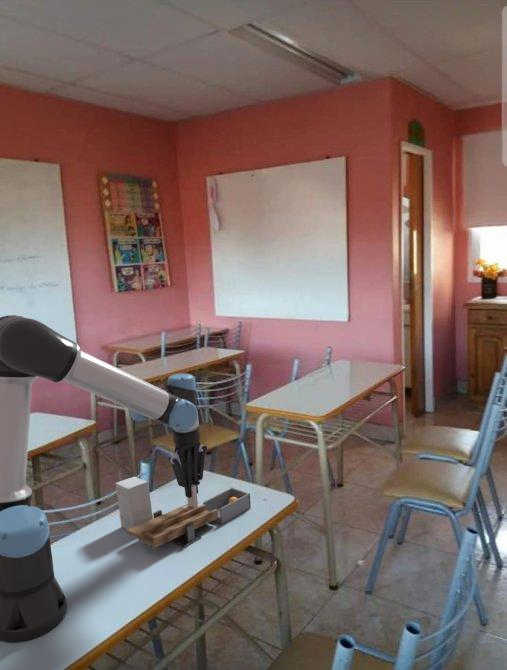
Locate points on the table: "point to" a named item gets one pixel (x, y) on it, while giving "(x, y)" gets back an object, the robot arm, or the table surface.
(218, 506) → the tray
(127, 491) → the small box
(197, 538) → the pivot bracket
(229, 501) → the ball
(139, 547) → the table surface
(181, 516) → the seesaw
